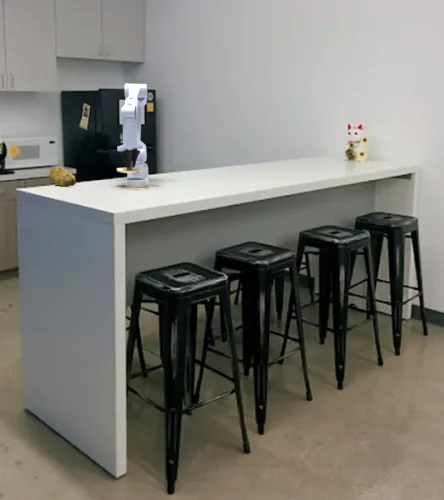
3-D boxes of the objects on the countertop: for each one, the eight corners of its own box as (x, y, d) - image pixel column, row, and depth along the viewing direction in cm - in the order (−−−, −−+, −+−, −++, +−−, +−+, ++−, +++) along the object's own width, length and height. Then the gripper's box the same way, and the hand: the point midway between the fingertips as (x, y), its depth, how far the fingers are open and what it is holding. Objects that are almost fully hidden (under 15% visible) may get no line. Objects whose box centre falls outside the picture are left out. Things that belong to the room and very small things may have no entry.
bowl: (135, 183, 274) (135, 177, 274) (152, 186, 269) (152, 179, 268) (120, 186, 266) (120, 179, 266) (137, 188, 261) (137, 181, 261)
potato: (59, 188, 263) (58, 169, 261) (47, 184, 273) (46, 166, 271) (78, 187, 268) (77, 168, 266) (65, 183, 277) (65, 165, 276)
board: (136, 185, 278) (136, 182, 278) (161, 188, 271) (161, 185, 271) (111, 188, 265) (111, 186, 265) (136, 192, 258) (136, 189, 258)
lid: (126, 168, 274) (126, 158, 273) (146, 171, 270) (146, 161, 268) (112, 171, 265) (112, 160, 264) (132, 174, 260) (133, 163, 259)
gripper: (132, 133, 271) (133, 165, 275) (111, 135, 259) (111, 168, 262) (146, 134, 268) (146, 166, 271) (125, 136, 256) (125, 169, 259)
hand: (130, 167), depth 267 cm, fingers closed on lid, 3 cm apart
